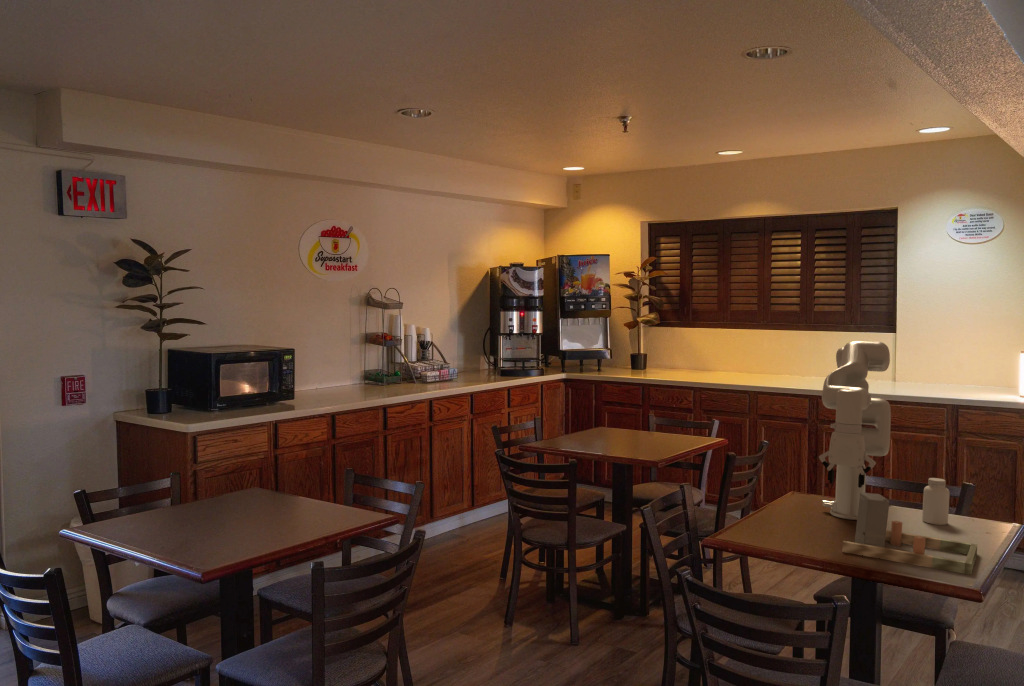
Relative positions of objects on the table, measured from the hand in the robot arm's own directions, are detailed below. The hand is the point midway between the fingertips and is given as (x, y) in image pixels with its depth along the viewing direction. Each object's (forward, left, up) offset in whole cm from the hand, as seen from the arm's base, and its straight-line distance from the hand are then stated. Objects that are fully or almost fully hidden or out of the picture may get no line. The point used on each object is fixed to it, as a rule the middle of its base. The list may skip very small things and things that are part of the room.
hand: (845, 484), depth 250 cm
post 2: (+22, -7, -18) cm, 29 cm away
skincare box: (+8, 0, -18) cm, 20 cm away
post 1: (+14, +8, -18) cm, 24 cm away
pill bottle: (+21, +46, -18) cm, 54 cm away
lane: (+18, 0, -18) cm, 25 cm away
